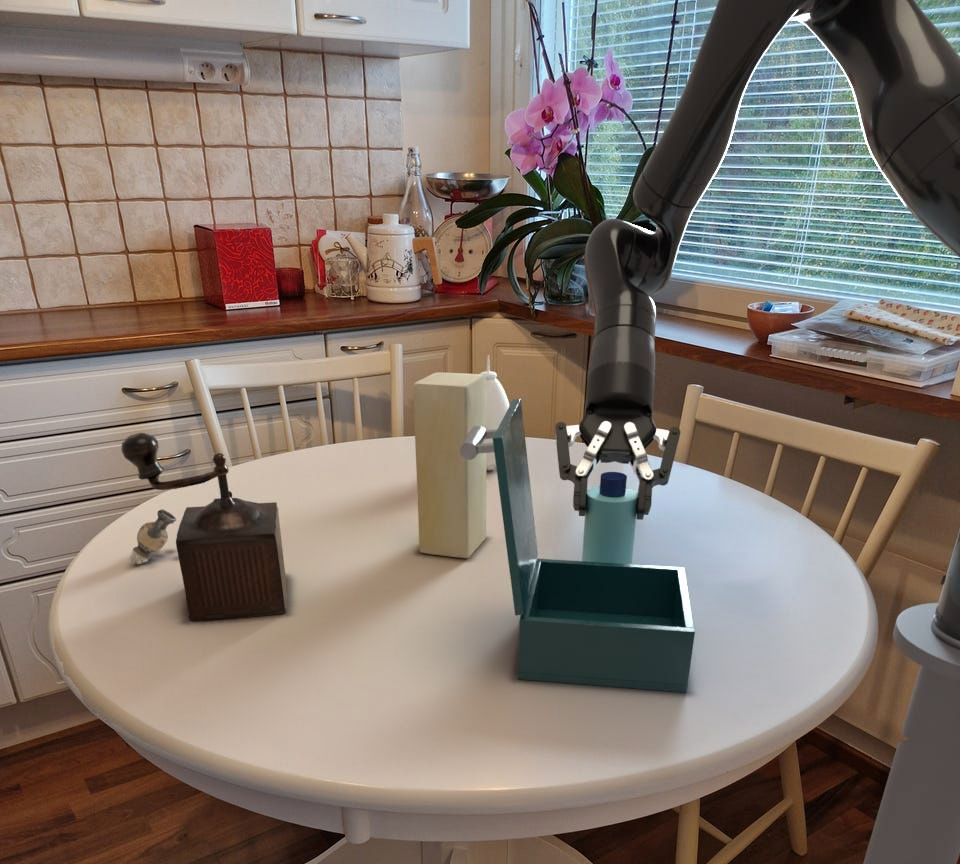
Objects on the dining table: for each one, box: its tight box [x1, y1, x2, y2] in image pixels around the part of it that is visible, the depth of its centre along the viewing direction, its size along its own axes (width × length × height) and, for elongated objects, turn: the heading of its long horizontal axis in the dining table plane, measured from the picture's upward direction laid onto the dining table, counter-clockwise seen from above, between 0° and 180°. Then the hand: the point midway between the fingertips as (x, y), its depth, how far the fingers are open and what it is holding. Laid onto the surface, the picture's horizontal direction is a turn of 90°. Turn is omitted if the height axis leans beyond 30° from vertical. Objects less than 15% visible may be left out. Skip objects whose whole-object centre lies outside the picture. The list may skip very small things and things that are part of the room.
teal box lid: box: [460, 398, 539, 616], centre depth 80 cm, size 16×15×5 cm
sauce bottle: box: [479, 354, 510, 471], centre depth 135 cm, size 8×8×18 cm
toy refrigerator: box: [412, 371, 487, 559], centre depth 104 cm, size 8×7×21 cm
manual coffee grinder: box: [120, 432, 288, 622], centre depth 91 cm, size 16×11×18 cm
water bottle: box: [581, 471, 638, 564], centre depth 94 cm, size 6×6×11 cm
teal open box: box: [517, 558, 696, 693], centre depth 84 cm, size 16×15×6 cm
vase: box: [129, 508, 177, 565], centre depth 104 cm, size 5×5×6 cm
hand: (611, 514), depth 91 cm, fingers closed on water bottle, 5 cm apart
